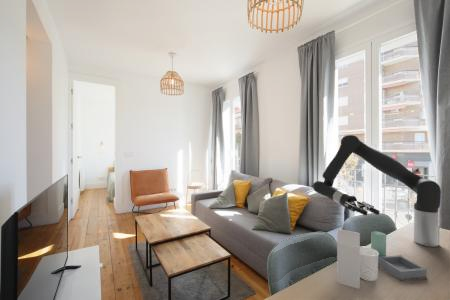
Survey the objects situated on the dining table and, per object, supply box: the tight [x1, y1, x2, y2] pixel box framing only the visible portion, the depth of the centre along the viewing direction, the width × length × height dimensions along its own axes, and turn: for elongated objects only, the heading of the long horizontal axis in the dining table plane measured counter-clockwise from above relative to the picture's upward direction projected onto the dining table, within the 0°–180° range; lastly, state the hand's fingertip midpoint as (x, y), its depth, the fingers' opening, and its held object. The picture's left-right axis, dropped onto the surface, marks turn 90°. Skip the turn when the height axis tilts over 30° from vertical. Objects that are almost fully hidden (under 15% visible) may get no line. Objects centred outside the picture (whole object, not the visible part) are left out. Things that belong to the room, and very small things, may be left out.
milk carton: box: [336, 229, 361, 290], centre depth 82 cm, size 7×7×19 cm
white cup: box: [360, 245, 379, 282], centre depth 85 cm, size 8×8×10 cm
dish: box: [378, 254, 428, 282], centre depth 88 cm, size 11×11×4 cm
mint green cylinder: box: [370, 230, 387, 257], centre depth 99 cm, size 6×6×11 cm
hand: (372, 213), depth 104 cm, fingers open, 8 cm apart
